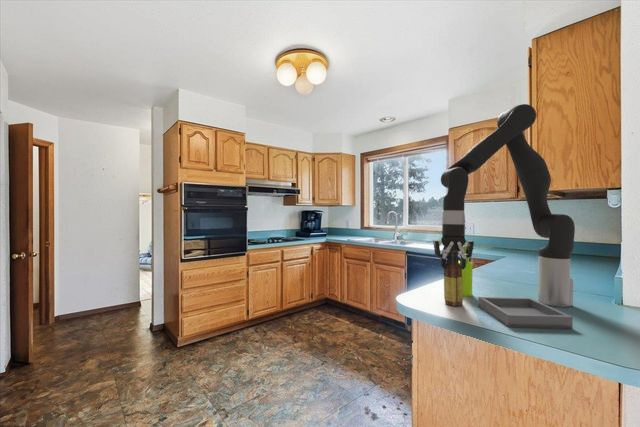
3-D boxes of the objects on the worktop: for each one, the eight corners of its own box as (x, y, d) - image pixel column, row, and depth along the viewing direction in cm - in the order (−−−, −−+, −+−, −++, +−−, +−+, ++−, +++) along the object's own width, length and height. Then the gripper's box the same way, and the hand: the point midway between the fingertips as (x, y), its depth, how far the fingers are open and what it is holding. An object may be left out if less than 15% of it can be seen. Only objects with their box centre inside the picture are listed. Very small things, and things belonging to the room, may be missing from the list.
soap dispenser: (468, 297, 112) (468, 247, 112) (453, 293, 118) (453, 245, 118) (477, 295, 115) (478, 246, 115) (462, 291, 121) (462, 244, 121)
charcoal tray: (530, 307, 101) (530, 298, 101) (572, 328, 83) (572, 317, 83) (478, 306, 102) (478, 296, 102) (508, 327, 84) (508, 315, 84)
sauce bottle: (459, 301, 107) (459, 249, 107) (465, 307, 101) (466, 251, 101) (441, 301, 108) (441, 248, 108) (446, 306, 102) (447, 251, 101)
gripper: (469, 222, 107) (468, 267, 107) (430, 222, 108) (429, 266, 108) (478, 223, 100) (478, 271, 100) (436, 223, 101) (436, 270, 101)
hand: (452, 268), depth 104 cm, fingers closed on sauce bottle, 6 cm apart
